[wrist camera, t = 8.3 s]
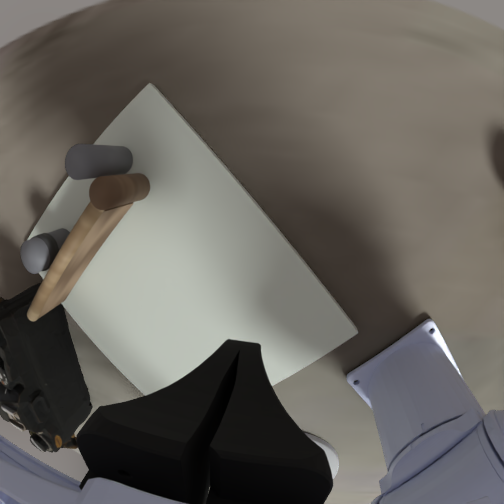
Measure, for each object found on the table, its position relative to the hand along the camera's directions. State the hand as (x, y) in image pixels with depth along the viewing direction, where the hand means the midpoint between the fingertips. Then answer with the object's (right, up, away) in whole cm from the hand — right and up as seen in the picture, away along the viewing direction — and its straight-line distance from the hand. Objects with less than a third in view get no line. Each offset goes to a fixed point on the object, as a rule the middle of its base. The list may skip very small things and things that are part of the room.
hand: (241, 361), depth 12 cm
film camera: (-21, -6, +14) cm, 26 cm away
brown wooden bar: (-11, +5, +9) cm, 15 cm away
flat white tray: (-6, +2, +10) cm, 12 cm away
